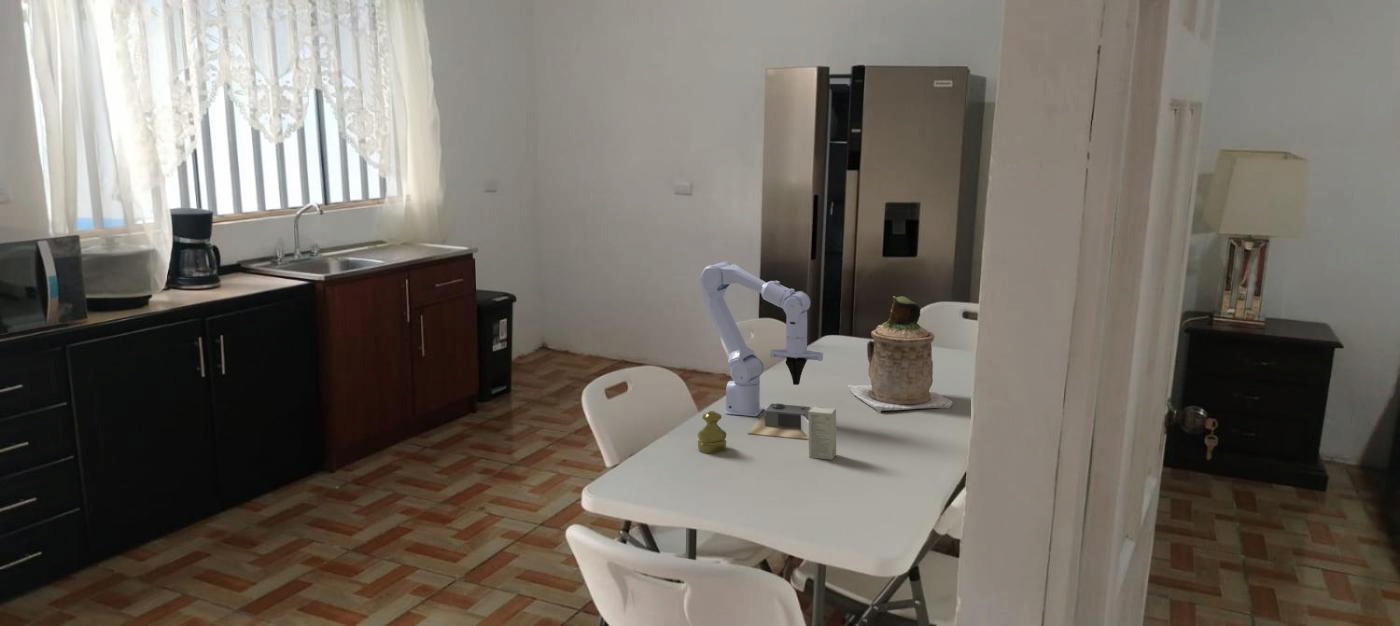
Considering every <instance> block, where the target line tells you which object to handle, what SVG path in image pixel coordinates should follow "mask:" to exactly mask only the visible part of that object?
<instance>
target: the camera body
mask: <svg viewBox="0 0 1400 626" xmlns="http://www.w3.org/2000/svg"><path fill="white" fill-rule="evenodd" d="M810 409H811V407H810V406H805V405H792V404H784V403H770V404H769V406H768V407H767V408H766V409H765V410H764V414H765V415H764V416H765V426H769V427H779V428H790V429H801V415H804V417H805V418H806V419H807V420H808V411H809V410H810Z"/></svg>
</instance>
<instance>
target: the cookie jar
mask: <svg viewBox="0 0 1400 626" xmlns="http://www.w3.org/2000/svg"><path fill="white" fill-rule="evenodd" d="M892 299H893V302H892V305H891V309H890V314H889V318H888V320H887V321H886V322H883V323H882V324H878V325H877V326H876V328H875V329H873V330H872V331H871V333H870V334H871V337H872V338H873V340H868V341H867V344H866V345H867V346H866V351H867V352H866V354H867V360H868V362H869V364H868V371H867V372H868V376H869V378H870V384H869V385H868V384H867V385H866V384H865V385H860V384H859V385H857V384H848V385H847V386H848V387H849V389H850V390H851V393H852V394H853V396H854V397H857V398H858V399H859V400H860V401H862V402H864V403H865V404H866V405H868V406H869V407H871V408H873V410H876V411H877V412H878V414H881V413H882V412H884V411H902V410H903V411H905V410H915V409H916V410H917V409H950V408H951V406H952V404H954V403H953V400H950V399H948V398H947V397H945V396H942V395H940V394H939V393H937V392H936V391H935V392H934V391H932V390H930V389H931V387H932V385H933V382H934V381H933V380H934V377H933V373H934V362H933V359H932V358H933V355H932V353H933V351H932V350H933V349H932V348H933V347H932V343H933V341H934V339H935V334H934V332H932V331H928V330H927V329H926V328H925V327H922V326H921V325H920V324H919V319H920V317H921V308H920V307H921V306H920V305H918V304H917V303H916V302H915V301H912V300H911V299H910V298H908V297H906V296H903V295H900V296H897V297H896V296H895V295H893V296H892Z"/></svg>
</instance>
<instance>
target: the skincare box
mask: <svg viewBox="0 0 1400 626" xmlns="http://www.w3.org/2000/svg"><path fill="white" fill-rule="evenodd" d="M808 421H809V440H808V457H809V458H812V459H821V460H830V461H831V460H833V459H834V458H835V456H836V455H837V409H836V408H834V407H833V408H832V407H831V408H830V407H822V406H821V407H820V406H812V407H810V410H809V411H808Z"/></svg>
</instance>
